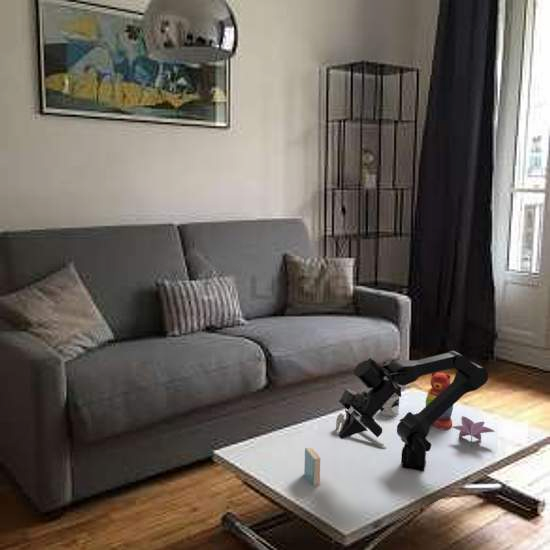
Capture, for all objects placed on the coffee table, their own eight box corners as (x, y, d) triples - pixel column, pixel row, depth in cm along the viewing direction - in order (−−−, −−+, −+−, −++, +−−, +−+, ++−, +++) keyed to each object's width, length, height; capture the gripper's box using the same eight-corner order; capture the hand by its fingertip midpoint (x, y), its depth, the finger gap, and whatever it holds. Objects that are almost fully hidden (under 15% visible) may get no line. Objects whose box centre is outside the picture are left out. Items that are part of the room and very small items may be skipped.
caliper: (335, 429, 214) (336, 412, 212) (337, 428, 214) (338, 411, 213) (384, 450, 199) (385, 431, 198) (386, 449, 200) (387, 430, 199)
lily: (498, 450, 202) (496, 420, 205) (482, 447, 194) (480, 415, 197) (463, 450, 209) (462, 421, 213) (446, 447, 201) (445, 417, 205)
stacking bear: (417, 423, 220) (420, 374, 217) (428, 414, 228) (431, 366, 225) (447, 430, 214) (451, 380, 211) (457, 421, 222) (461, 372, 219)
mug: (394, 417, 224) (395, 400, 223) (377, 413, 227) (377, 396, 226) (404, 408, 232) (405, 391, 231) (387, 405, 236) (388, 388, 235)
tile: (310, 473, 183) (311, 447, 181) (319, 484, 176) (320, 458, 175) (304, 473, 182) (305, 448, 181) (312, 485, 176) (313, 459, 174)
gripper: (346, 369, 187) (310, 408, 185) (374, 391, 169) (334, 434, 168) (369, 392, 190) (334, 430, 189) (398, 416, 173) (360, 458, 172)
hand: (339, 437), depth 179 cm, fingers closed
